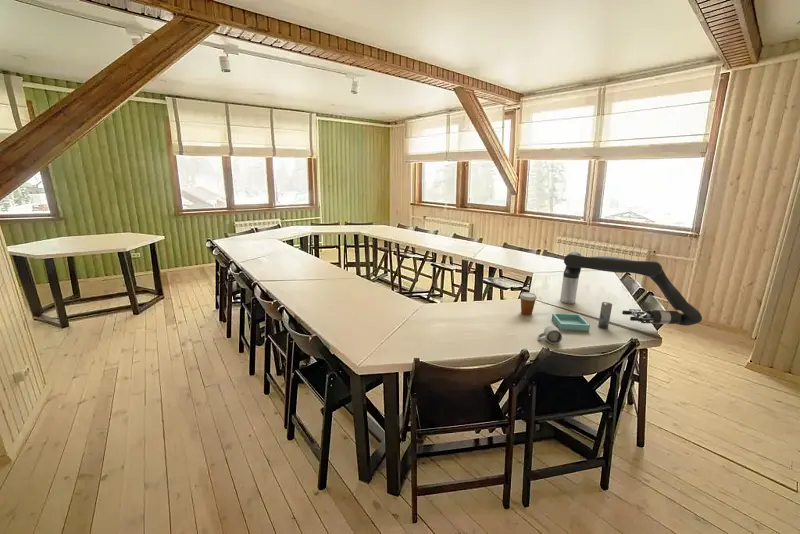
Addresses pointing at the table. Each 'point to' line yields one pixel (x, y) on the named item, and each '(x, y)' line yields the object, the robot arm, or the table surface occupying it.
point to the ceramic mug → (551, 335)
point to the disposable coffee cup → (527, 303)
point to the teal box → (570, 322)
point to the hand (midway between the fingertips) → (626, 315)
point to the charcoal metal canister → (605, 315)
